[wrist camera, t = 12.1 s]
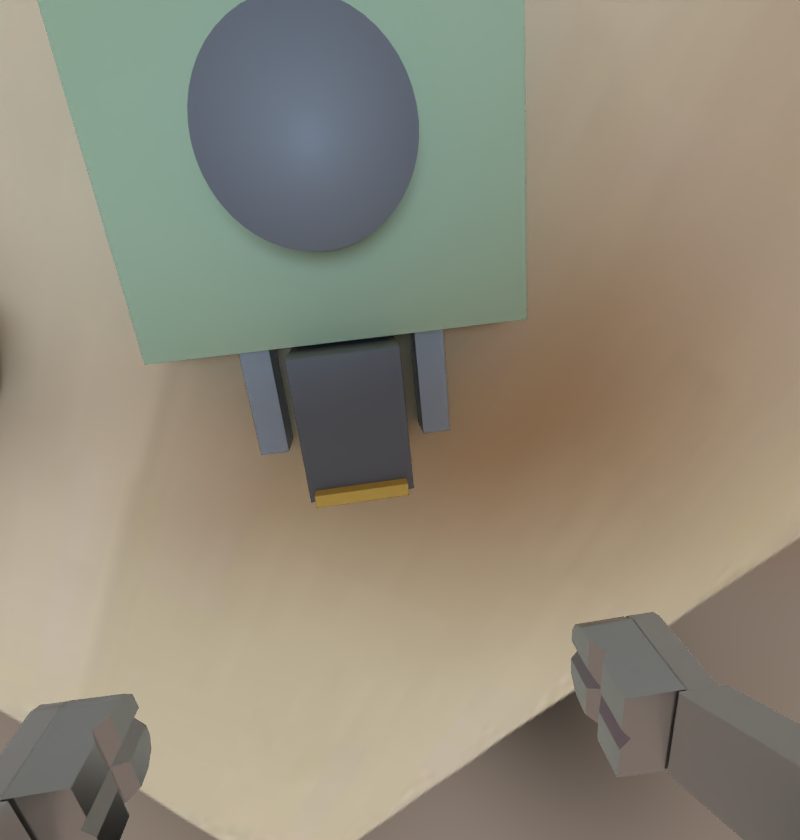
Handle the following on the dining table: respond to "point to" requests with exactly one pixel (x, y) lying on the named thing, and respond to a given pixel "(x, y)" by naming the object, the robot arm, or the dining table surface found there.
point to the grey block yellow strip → (351, 419)
